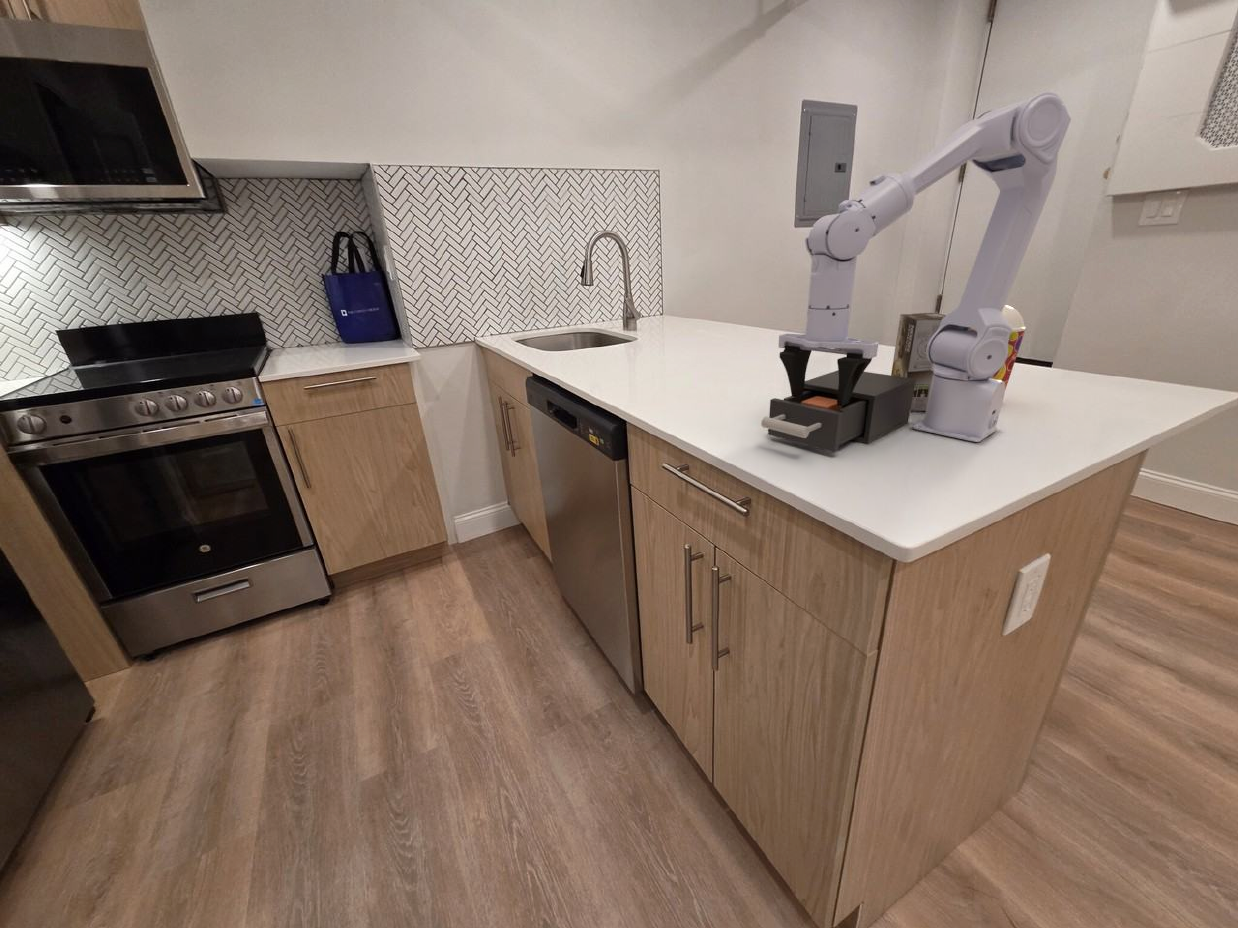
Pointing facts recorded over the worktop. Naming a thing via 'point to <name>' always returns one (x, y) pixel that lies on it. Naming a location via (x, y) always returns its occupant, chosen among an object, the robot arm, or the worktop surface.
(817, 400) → the block
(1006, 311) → the smoothie
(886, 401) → the dark drawer unit
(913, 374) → the coffee box
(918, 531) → the worktop surface
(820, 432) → the open pull-out drawer
